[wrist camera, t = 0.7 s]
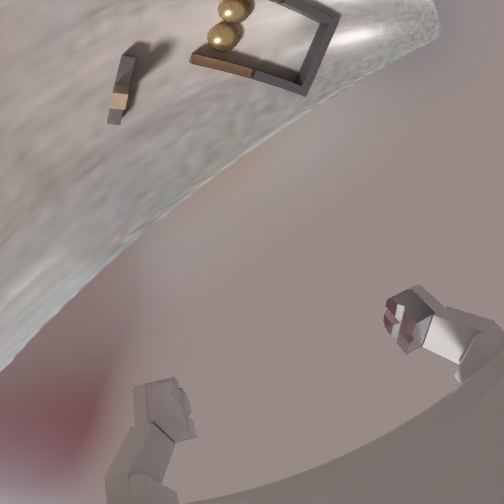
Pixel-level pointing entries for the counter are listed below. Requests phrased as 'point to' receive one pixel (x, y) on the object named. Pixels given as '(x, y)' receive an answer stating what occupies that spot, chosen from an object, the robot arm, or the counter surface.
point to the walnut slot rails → (222, 63)
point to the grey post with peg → (121, 90)
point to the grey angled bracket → (313, 54)
